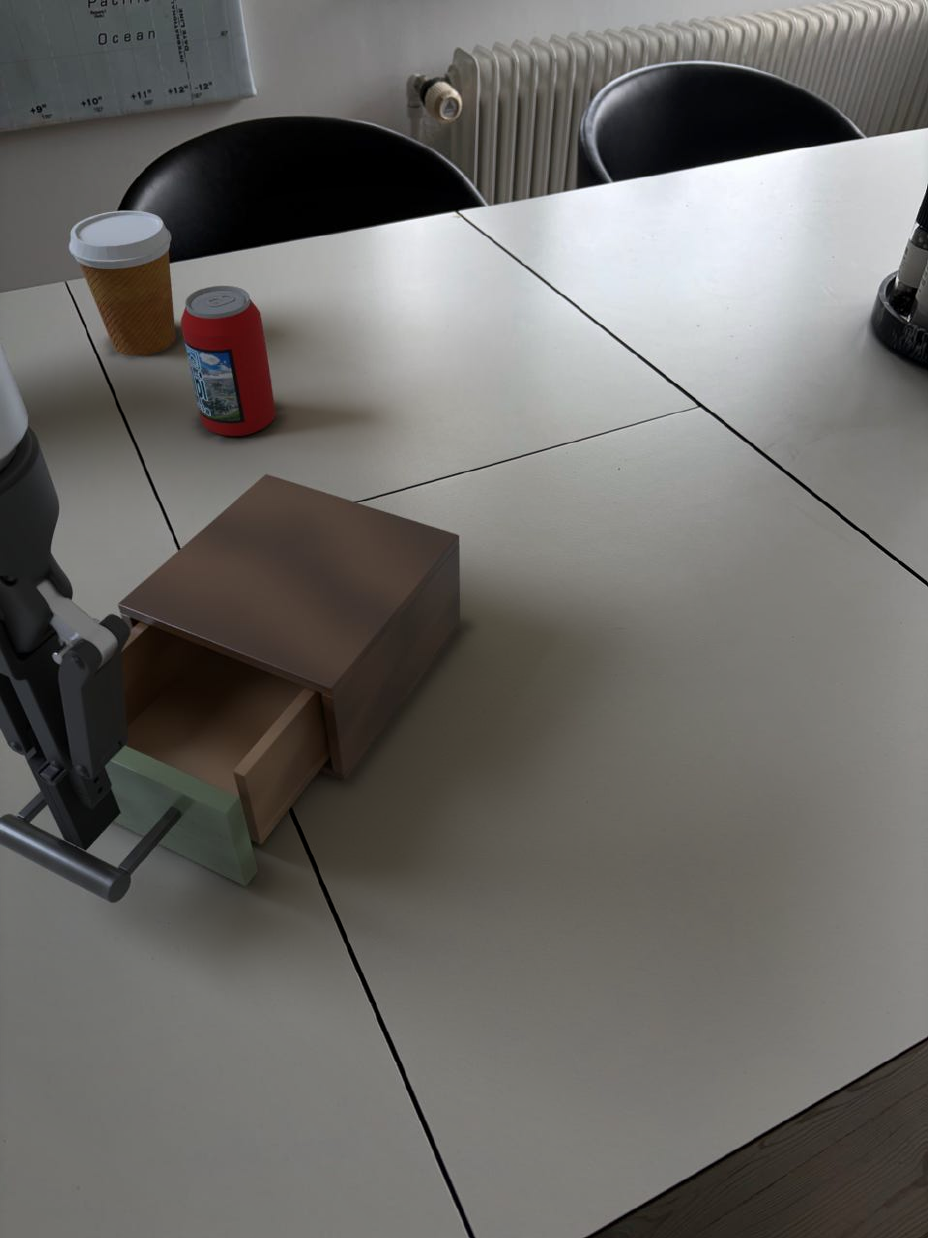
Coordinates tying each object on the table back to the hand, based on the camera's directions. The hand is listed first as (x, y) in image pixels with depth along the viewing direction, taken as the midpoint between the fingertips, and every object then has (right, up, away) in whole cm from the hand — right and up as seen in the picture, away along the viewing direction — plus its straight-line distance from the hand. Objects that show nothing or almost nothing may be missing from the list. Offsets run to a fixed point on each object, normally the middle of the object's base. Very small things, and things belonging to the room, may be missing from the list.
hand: (92, 826), depth 53 cm
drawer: (+3, +1, +8) cm, 8 cm away
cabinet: (+9, +8, +16) cm, 20 cm away
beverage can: (-1, +29, +39) cm, 49 cm away
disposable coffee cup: (-13, +39, +51) cm, 65 cm away
